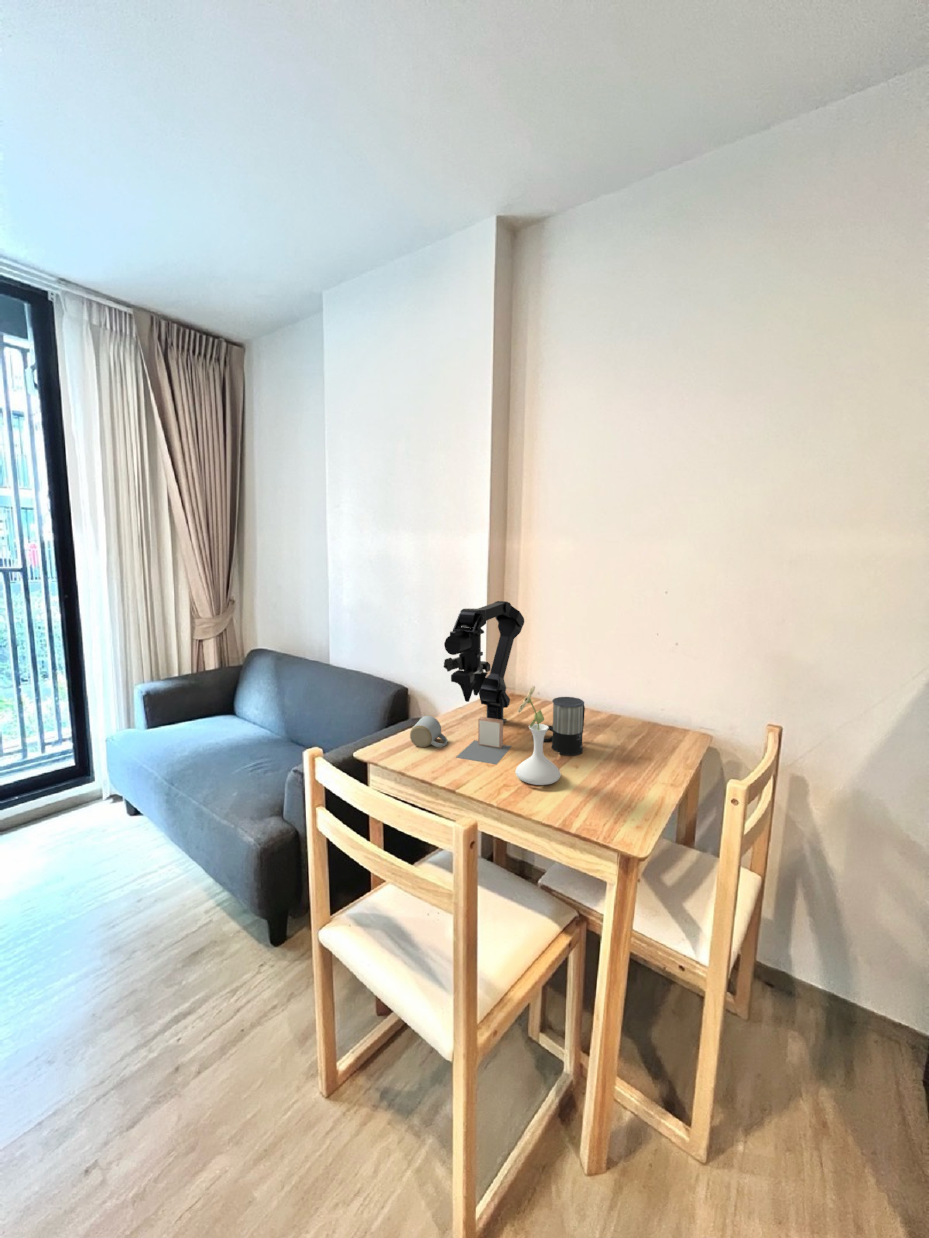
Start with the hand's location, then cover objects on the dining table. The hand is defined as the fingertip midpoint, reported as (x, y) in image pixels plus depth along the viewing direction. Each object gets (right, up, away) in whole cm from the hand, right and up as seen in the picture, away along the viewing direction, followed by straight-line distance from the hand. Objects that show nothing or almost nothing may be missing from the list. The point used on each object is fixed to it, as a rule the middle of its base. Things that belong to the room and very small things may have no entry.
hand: (471, 698), depth 154 cm
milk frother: (+25, -13, -7) cm, 30 cm away
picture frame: (+5, -13, -8) cm, 16 cm away
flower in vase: (+16, -16, -30) cm, 37 cm away
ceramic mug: (-13, -13, -6) cm, 19 cm away
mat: (+4, -14, -13) cm, 19 cm away
